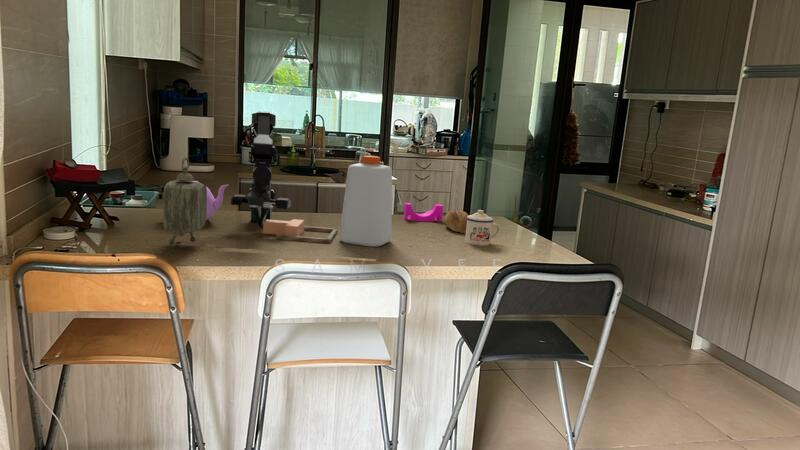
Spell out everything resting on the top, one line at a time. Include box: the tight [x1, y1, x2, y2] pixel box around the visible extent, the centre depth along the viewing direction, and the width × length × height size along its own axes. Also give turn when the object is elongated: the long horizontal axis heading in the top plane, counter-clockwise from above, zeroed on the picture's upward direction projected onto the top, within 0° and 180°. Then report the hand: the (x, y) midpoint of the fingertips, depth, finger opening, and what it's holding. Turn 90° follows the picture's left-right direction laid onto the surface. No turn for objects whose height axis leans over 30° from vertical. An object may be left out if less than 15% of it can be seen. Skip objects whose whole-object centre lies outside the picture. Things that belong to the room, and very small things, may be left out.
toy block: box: [403, 202, 444, 222], centre depth 241 cm, size 15×6×8 cm, turn 100°
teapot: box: [191, 180, 229, 221], centre depth 210 cm, size 22×16×14 cm
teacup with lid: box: [464, 209, 501, 247], centre depth 207 cm, size 12×9×12 cm
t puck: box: [262, 218, 305, 237], centre depth 199 cm, size 12×12×4 cm
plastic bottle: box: [339, 155, 393, 248], centre depth 195 cm, size 15×15×28 cm
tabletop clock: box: [162, 157, 207, 246], centre depth 176 cm, size 14×9×25 cm, turn 5°
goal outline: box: [275, 225, 338, 244], centre depth 199 cm, size 17×18×1 cm
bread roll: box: [443, 209, 470, 234], centre depth 226 cm, size 10×15×8 cm, turn 13°
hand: (260, 227), depth 199 cm, fingers closed
